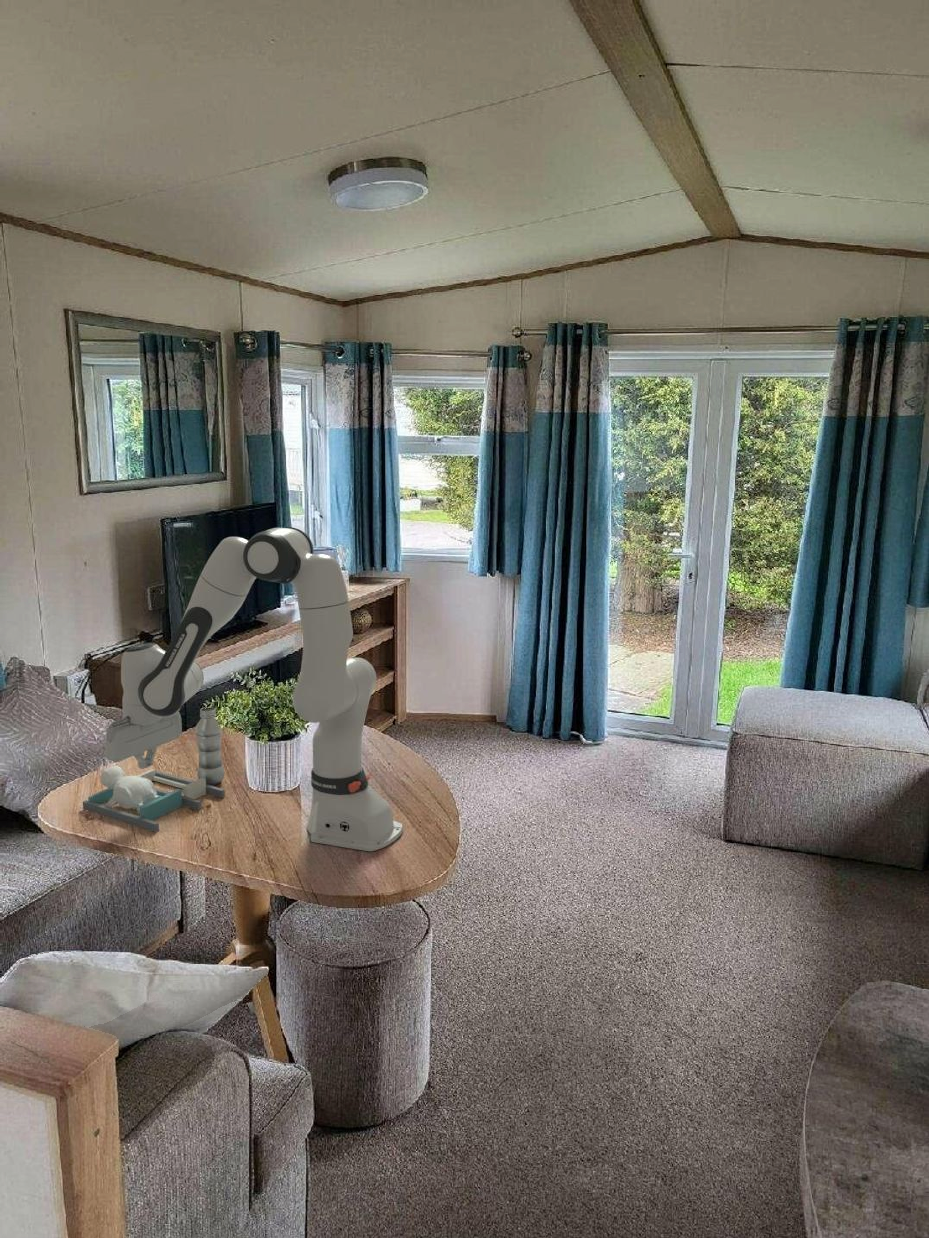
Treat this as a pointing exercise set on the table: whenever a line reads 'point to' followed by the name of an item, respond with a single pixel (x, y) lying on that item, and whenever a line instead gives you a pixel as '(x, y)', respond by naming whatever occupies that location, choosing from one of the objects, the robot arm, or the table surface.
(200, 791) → the grey elongated piece
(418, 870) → the table surface
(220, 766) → the plastic bottle
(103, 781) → the white animal figurine
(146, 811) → the teal sled
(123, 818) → the lane rails
